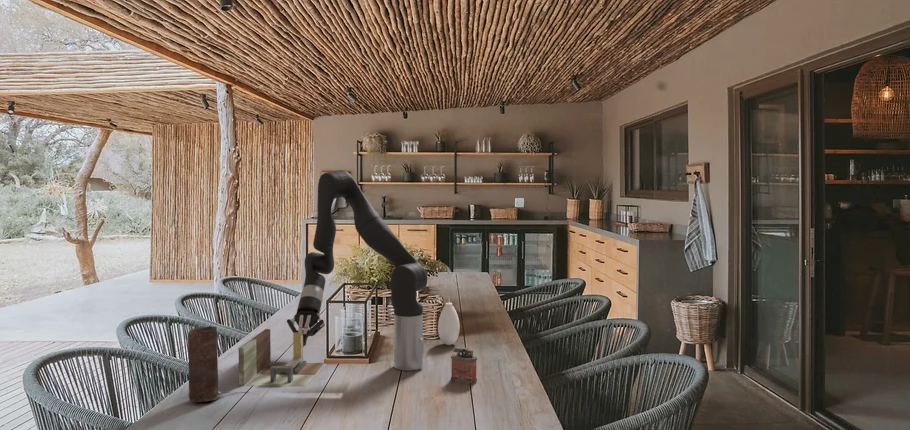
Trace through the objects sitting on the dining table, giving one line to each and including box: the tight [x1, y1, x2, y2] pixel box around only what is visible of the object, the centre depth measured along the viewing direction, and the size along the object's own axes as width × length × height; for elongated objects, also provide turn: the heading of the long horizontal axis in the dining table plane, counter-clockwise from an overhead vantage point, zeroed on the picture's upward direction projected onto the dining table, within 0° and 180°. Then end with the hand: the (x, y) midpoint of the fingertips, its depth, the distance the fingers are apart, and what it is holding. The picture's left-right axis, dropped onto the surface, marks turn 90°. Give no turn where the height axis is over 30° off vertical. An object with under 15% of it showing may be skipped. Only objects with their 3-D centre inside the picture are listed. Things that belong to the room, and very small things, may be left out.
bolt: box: [285, 332, 304, 373], centre depth 181 cm, size 2×11×10 cm, turn 178°
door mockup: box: [238, 328, 325, 387], centre depth 176 cm, size 19×22×12 cm
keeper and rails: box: [269, 360, 307, 383], centre depth 177 cm, size 6×17×4 cm, turn 178°
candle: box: [187, 325, 220, 403], centre depth 156 cm, size 8×7×20 cm
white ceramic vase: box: [437, 297, 461, 346], centre depth 214 cm, size 8×8×18 cm
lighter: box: [450, 347, 478, 384], centre depth 174 cm, size 8×3×10 cm, turn 71°
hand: (300, 346), depth 188 cm, fingers closed
